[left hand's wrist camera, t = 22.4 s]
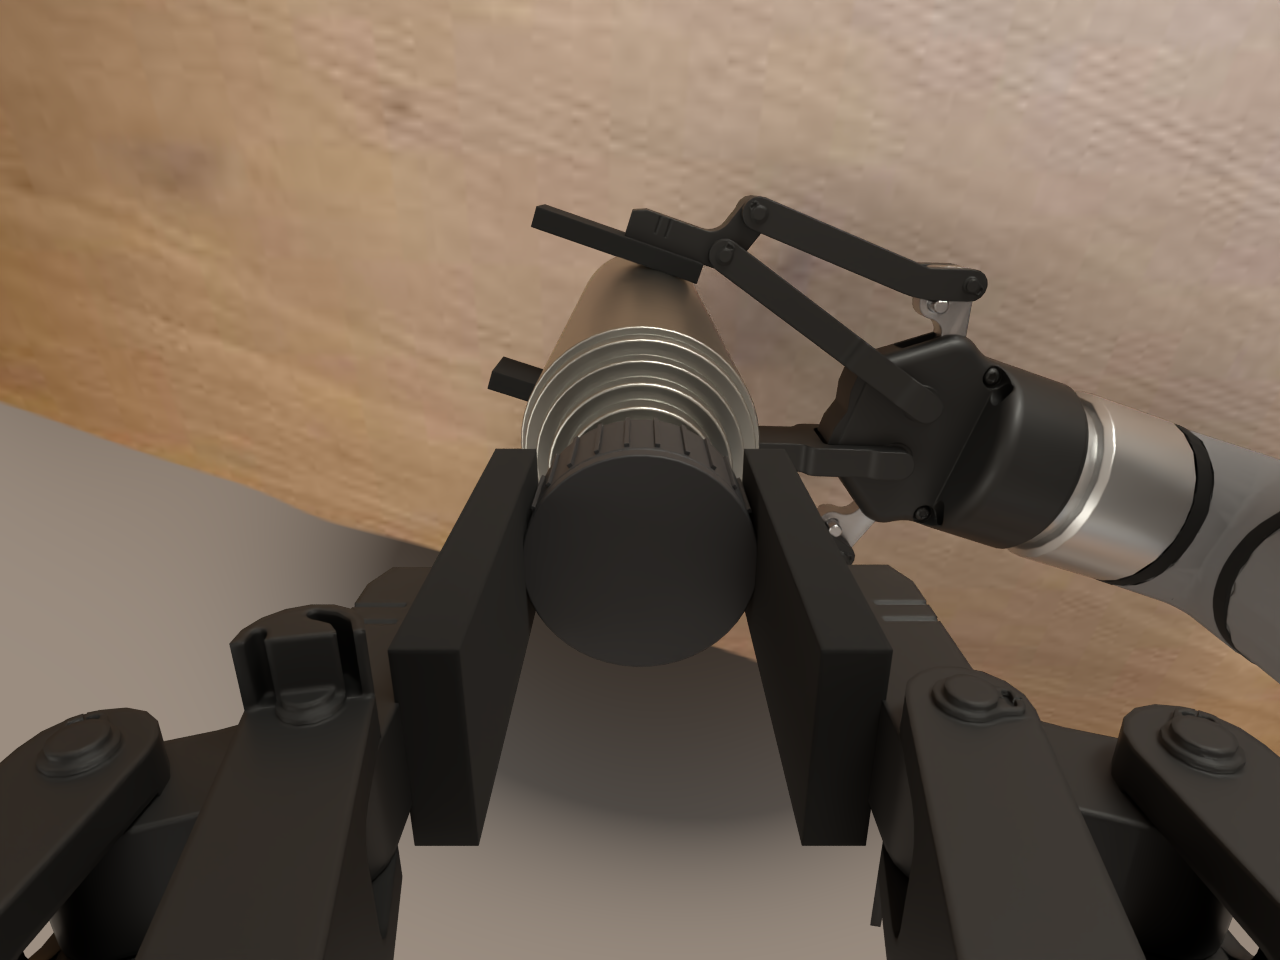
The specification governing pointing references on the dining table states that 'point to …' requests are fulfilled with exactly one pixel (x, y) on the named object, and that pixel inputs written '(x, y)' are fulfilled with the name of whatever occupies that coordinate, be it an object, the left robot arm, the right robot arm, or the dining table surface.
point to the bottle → (639, 367)
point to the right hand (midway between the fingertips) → (517, 296)
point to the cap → (640, 544)
